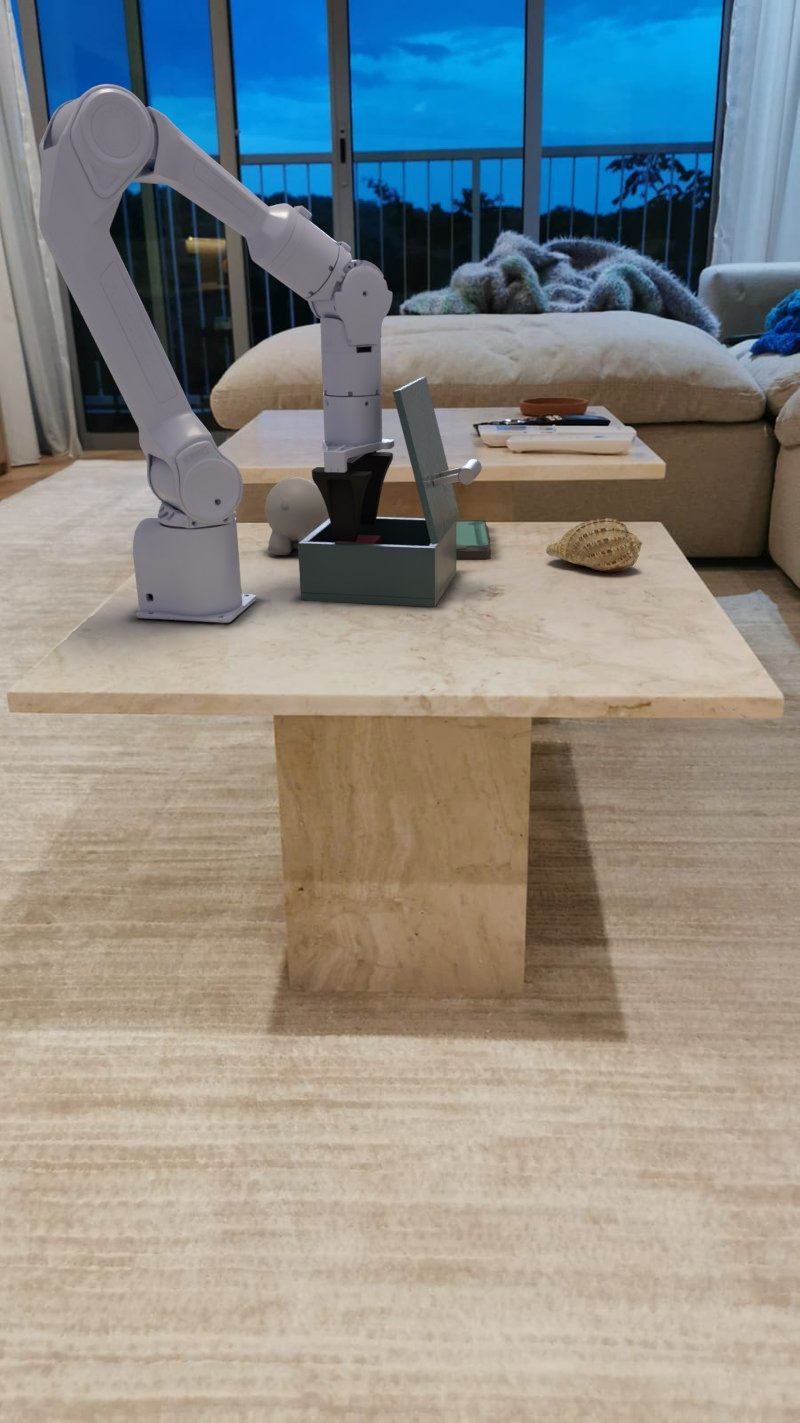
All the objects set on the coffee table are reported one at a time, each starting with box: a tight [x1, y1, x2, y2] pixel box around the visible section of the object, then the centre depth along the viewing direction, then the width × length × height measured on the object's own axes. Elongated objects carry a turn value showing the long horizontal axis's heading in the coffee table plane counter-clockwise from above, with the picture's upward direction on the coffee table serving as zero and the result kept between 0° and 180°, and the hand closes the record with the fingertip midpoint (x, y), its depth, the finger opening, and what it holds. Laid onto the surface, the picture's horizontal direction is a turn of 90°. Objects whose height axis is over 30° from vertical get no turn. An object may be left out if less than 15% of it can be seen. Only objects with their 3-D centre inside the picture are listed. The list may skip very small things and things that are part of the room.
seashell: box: [545, 517, 643, 573], centre depth 116 cm, size 8×6×10 cm
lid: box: [392, 376, 482, 545], centre depth 104 cm, size 14×13×5 cm
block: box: [335, 535, 381, 544], centre depth 110 cm, size 4×4×4 cm
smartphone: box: [456, 519, 492, 560], centre depth 127 cm, size 7×1×15 cm
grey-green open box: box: [297, 516, 458, 608], centre depth 110 cm, size 14×13×6 cm
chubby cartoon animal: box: [264, 476, 329, 556], centre depth 125 cm, size 7×12×8 cm, turn 171°
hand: (355, 532), depth 109 cm, fingers open, 7 cm apart
